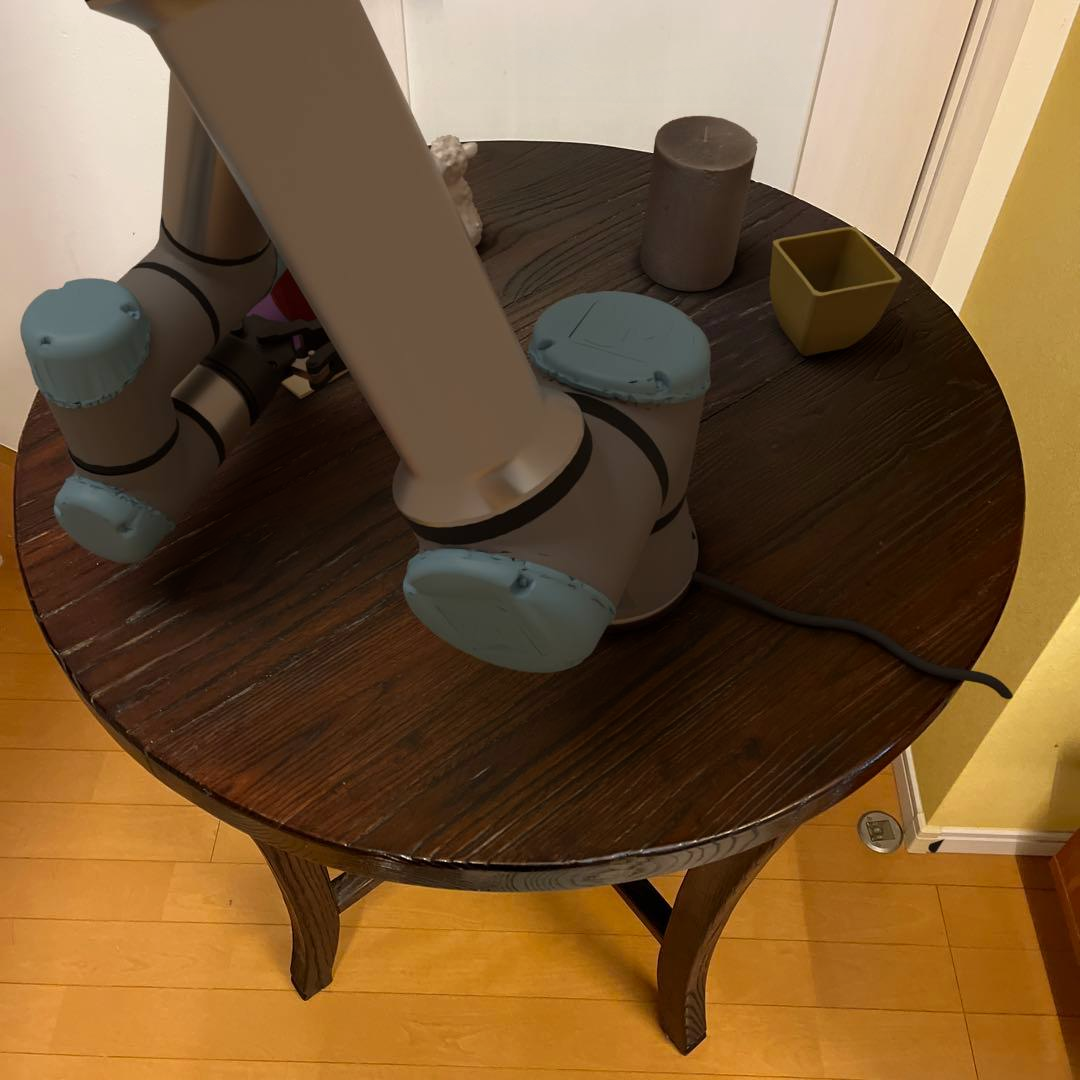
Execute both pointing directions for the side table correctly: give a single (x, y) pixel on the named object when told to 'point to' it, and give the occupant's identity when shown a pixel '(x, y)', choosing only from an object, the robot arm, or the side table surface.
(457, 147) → the seated beast figurine
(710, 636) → the side table surface
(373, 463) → the side table surface
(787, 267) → the flower pot
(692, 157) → the pillar candle
